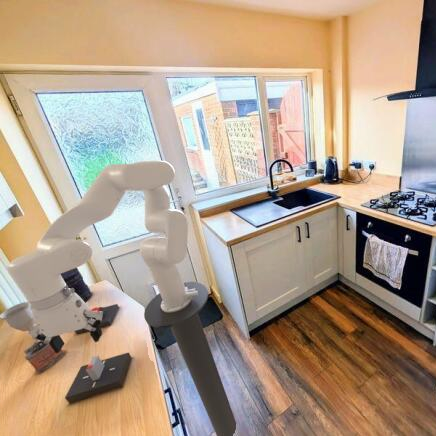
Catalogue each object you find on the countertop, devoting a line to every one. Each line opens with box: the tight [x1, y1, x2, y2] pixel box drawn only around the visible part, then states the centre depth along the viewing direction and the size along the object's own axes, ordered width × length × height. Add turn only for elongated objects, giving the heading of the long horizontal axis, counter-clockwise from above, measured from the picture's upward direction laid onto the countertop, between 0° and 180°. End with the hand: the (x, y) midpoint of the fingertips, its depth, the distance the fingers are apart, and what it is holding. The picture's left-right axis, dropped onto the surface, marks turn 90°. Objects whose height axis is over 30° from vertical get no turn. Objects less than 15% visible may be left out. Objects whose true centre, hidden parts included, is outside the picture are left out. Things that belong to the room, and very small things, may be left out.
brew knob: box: [86, 355, 104, 381], centre depth 75 cm, size 4×2×5 cm, turn 16°
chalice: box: [0, 301, 38, 344], centre depth 89 cm, size 7×7×18 cm
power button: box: [90, 306, 100, 311], centre depth 99 cm, size 4×4×2 cm
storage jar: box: [60, 267, 93, 303], centre depth 112 cm, size 10×10×15 cm
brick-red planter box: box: [23, 340, 66, 374], centre depth 83 cm, size 8×3×10 cm, turn 159°
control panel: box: [64, 352, 133, 405], centre depth 77 cm, size 14×10×3 cm
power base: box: [74, 303, 120, 335], centre depth 100 cm, size 12×10×4 cm
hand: (80, 343), depth 71 cm, fingers open, 9 cm apart
